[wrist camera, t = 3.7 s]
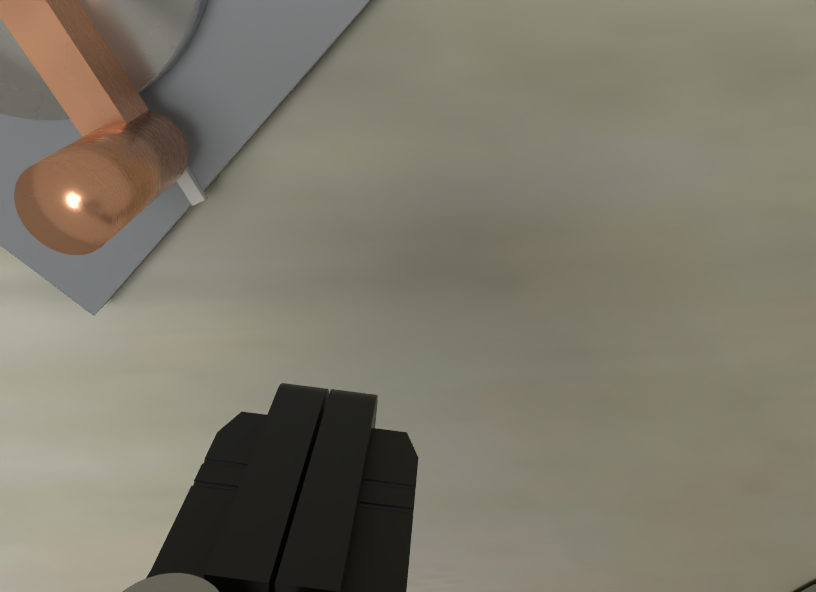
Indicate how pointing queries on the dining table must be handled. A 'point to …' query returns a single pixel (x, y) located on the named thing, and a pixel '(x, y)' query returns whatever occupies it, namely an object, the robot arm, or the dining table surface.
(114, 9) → the silver and copper crank
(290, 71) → the plate
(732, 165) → the dining table surface
